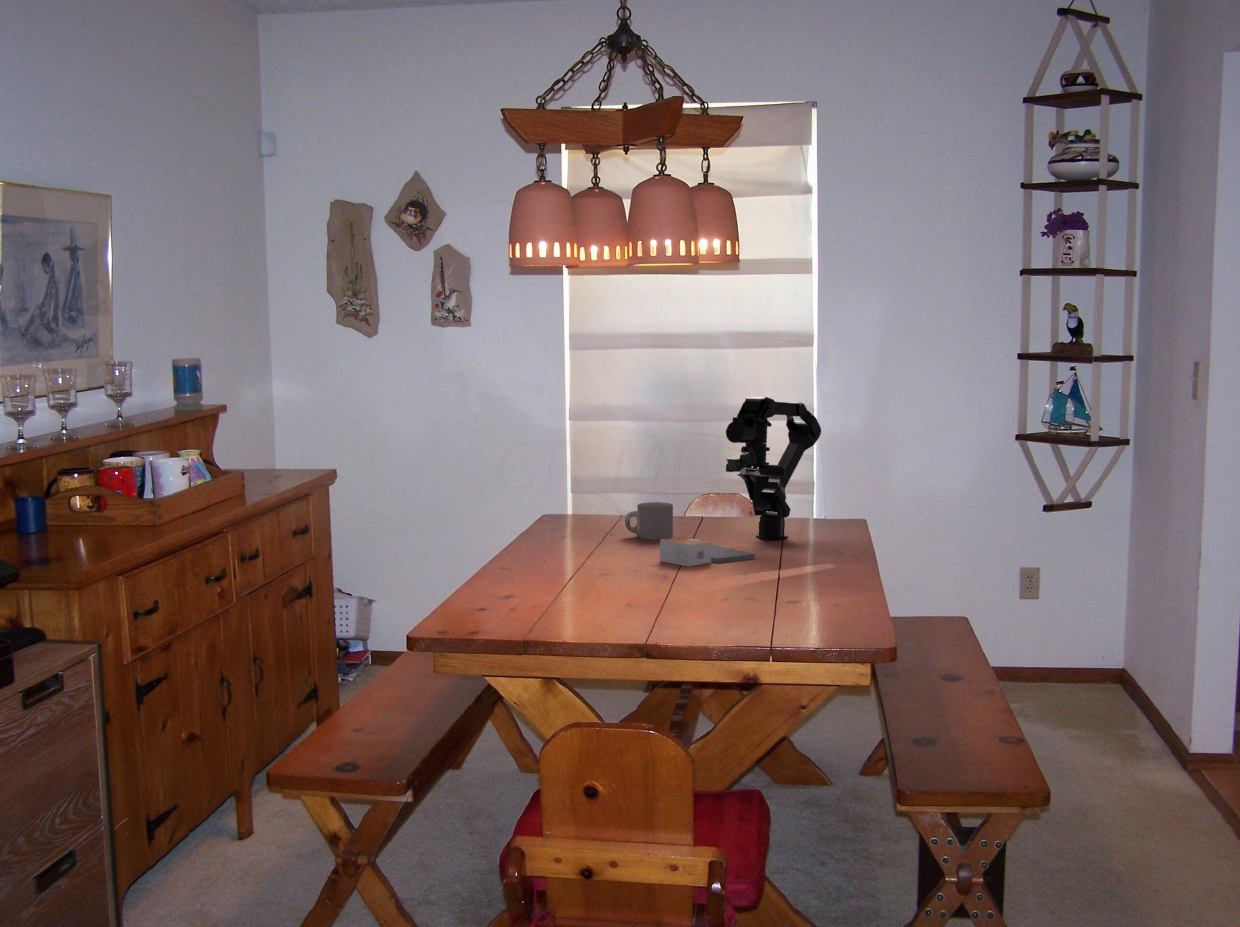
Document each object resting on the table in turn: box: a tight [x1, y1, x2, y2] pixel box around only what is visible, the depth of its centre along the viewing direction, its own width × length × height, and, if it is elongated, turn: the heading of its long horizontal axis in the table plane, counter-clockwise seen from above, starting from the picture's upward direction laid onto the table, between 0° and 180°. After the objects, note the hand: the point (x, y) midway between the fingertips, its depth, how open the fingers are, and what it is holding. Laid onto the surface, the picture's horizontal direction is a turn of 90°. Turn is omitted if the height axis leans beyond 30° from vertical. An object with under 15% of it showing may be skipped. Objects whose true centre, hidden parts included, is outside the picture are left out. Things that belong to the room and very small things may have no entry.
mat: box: [711, 544, 756, 564], centre depth 298 cm, size 12×18×1 cm, turn 33°
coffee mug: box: [624, 501, 674, 541], centre depth 325 cm, size 13×10×10 cm
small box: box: [659, 536, 712, 567], centre depth 289 cm, size 8×6×10 cm
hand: (753, 500), depth 315 cm, fingers closed
